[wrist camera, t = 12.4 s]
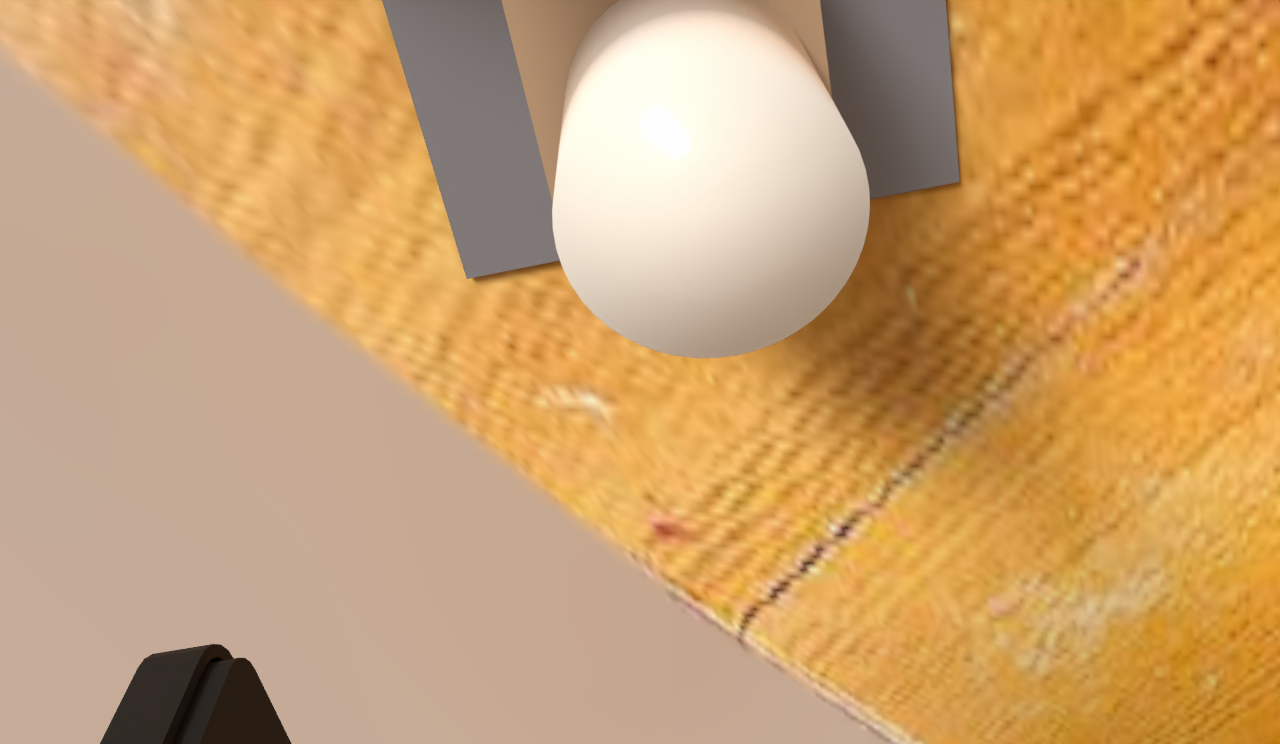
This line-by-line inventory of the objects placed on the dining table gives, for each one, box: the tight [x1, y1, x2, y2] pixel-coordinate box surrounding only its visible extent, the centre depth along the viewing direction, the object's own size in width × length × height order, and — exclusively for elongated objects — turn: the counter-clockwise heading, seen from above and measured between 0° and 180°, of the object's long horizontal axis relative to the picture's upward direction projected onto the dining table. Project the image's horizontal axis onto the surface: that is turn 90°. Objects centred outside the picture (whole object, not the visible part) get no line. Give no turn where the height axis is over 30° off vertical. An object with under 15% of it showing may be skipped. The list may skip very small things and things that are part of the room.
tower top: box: [502, 0, 832, 203], centre depth 27 cm, size 6×6×6 cm
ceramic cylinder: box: [552, 0, 870, 358], centre depth 22 cm, size 5×5×6 cm
